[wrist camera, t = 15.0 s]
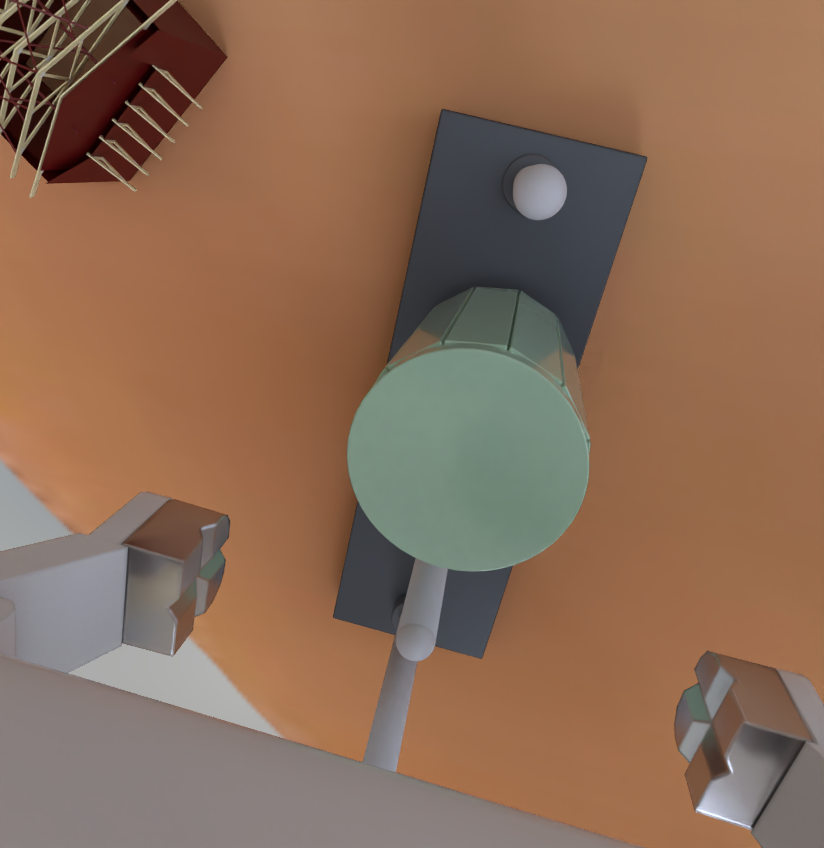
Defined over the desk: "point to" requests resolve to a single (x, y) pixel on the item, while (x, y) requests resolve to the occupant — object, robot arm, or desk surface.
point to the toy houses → (98, 89)
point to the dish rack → (447, 277)
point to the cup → (474, 435)
